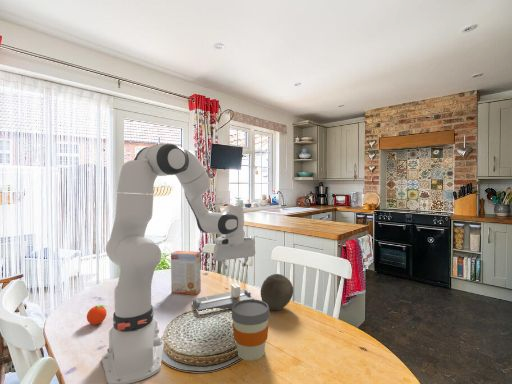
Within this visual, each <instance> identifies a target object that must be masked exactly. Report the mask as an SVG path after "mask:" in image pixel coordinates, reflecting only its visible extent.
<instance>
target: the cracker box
mask: <svg viewBox="0 0 512 384" xmlns="http://www.w3.org/2000/svg"><path fill="white" fill-rule="evenodd" d="M170 273H171V274H170V278H171V279H170V280H171V281H170V285H171V293H172V294H181V295H194V296H195V295H197V294H199V293H200V292H201V289H202V287H201V286H202V285H201V284H202V281H201V280H202V279H201V251H193V250H192V251H191V250H190V251H189V250H188V251H186V250H175V251H172V252H171V253H170Z"/></svg>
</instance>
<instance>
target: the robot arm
mask: <svg viewBox="0 0 512 384" xmlns="http://www.w3.org/2000/svg"><path fill="white" fill-rule="evenodd" d="M174 175H175V177H176V178H177V180H178V181H179V183H180V184H181V186H182V188H183V190H184V197H185V199H186V201H187V203H188V205H189V207H190V209H191V212H192V213H193V215H194V217H195V220H196V225H197V227H198V229H199V231H200V232H201V233H204V234H214V235H220V236H219V237H216V238H215V244H214V246H213V252H212V253H213V259H214V260H215V261H217V262H221V264H222V265H223V266H222V267H223V270H228V268H229V267H228V265H227V264H225V263H226V261H228V260H235V259H243V262H241V267H244V268H246V267H247V263H248V261H249V258H250V257H255V255H256V246H255V244H256V240H255V238H254V237H252V236H249V237H245V230H244V226H245V212H244V209H243V206H241V205H238V204H231V203H230V204H227V205H226V207H225V208H224V209H223V210H222V211H220V212H216V211H215V212H214V211H211V210H209V209H208V208H207V206H206V204H205V202H204V199H203V197H202V196H203V195H204V194H205V193H206V192H208V190H209V188H210V185H211V179H210V177H209V175H208V172H207V171H206V169H205V167H204V166H203V164H202V162H201V161H200V160H199V158H198V156H196V155H195V153H194V152H193V151H191V150H189V149H185V148H182V147H181V146H179V145H177V144H174V143H165V144H154V145H150V146H146V147H143V148H142V149H140V150H139V151H138V152H137V154H136V155H135V157H134V159H132V160H129V161H126V162H124V163H123V165H122V166H121V169H120V174H119V178H118V183H117V192H116V203H115V204H116V207H115V215H114V216H115V217H114V222H113V227H112V229H111V234H110V237H109V240H108V241H107V243H106V246H105V252H106V255H107V257H108V259H109V260H110V261H111V262H112V263H114V264H115V265H117V266H118V267H119V276H118V281H117V285H116V286H115V288H114V291H113V292H114V293H113V294H114V312H113V318H112V321H113V323H112V326H113V327H111V328H110V329H109V330H108V348H107V350H106V352H105V353H103V355H102V356H101V362H102V366H103V371H104V375H105V379H106V383H107V384H133V383H136V382H139V381H142V380H146V379H148V378H150V377H152V376H153V375H155V374H157V373H158V372H160V370H161V368H162V367H161V366H162V363H163V362H162V360H163V356H164V355H163V354H164V349H165V341H164V340H163V339H161V338H160V337H159V333H160V328H158V320H157V319H155V318H154V307H153V305H152V282H153V278H154V273H155V270H156V269H157V267H158V266H159V264H160V263H161V259H162V250H161V248H160V247H159V246H158V245H157V244H156V243H155V242H154V241H153V240H152V239H150V238H147V237H145V233H146V229H147V227H148V224H149V222H150V221H151V219H152V217H153V213H154V212H153V208H154V193H155V191H154V189H155V188H154V184H155V180H156V179H157V177H165V176H174ZM163 341H164V342H163Z"/></svg>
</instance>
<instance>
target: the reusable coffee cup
mask: <svg viewBox="0 0 512 384" xmlns="http://www.w3.org/2000/svg"><path fill="white" fill-rule="evenodd" d="M231 319H232V321H233V322H232V331H233V339H234V341H235V345H236V352H237V351H238V353H237V355H238V357H239V358H240V359H242V360H244V361H256V360H259V359H261V358H263V356H264V354H265V350H266V341H267V339H268V334H269V324H270V323H269V319H270V309H269V306H268V304H267V303H265V302H263V301H262V299H261V300H260V299H255V298H254V299H247V300H242V301H239V302H237V303H235V304H234V305H233V307H232V308H231Z"/></svg>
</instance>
